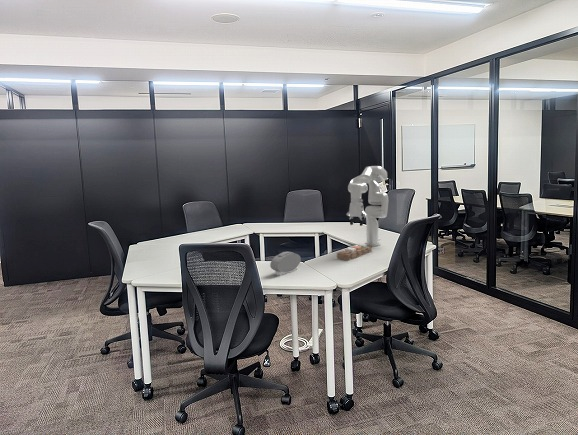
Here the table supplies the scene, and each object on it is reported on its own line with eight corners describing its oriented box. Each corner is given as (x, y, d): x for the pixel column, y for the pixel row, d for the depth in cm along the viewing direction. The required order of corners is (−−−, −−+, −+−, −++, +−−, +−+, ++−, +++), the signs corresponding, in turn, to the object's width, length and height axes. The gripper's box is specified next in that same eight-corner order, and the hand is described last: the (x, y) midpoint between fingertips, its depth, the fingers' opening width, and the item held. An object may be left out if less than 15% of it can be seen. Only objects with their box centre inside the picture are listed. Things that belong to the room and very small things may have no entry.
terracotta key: (355, 250, 316) (355, 245, 315) (361, 250, 313) (361, 246, 312) (352, 251, 312) (352, 246, 311) (358, 252, 309) (358, 247, 308)
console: (359, 250, 326) (359, 244, 325) (371, 251, 319) (371, 245, 319) (337, 258, 301) (336, 252, 301) (349, 260, 295) (349, 254, 294)
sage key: (361, 248, 322) (360, 243, 321) (366, 248, 319) (366, 244, 318) (357, 249, 318) (357, 245, 318) (363, 249, 315) (363, 245, 314)
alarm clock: (293, 267, 281) (293, 248, 279) (301, 268, 277) (300, 249, 275) (270, 275, 263) (269, 255, 262) (277, 276, 259) (277, 256, 258)
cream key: (350, 252, 310) (349, 247, 309) (356, 252, 306) (355, 248, 306) (346, 253, 306) (346, 248, 305) (352, 254, 303) (352, 249, 302)
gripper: (369, 200, 305) (369, 225, 307) (348, 200, 316) (348, 223, 318) (364, 201, 299) (364, 226, 301) (343, 201, 310) (343, 225, 312)
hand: (356, 225), depth 310 cm, fingers open, 7 cm apart
